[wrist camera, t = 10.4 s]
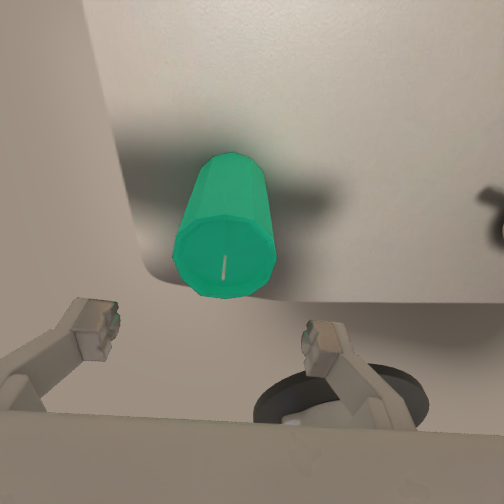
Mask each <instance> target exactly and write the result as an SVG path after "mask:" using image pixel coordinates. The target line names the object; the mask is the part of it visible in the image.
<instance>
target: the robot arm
mask: <svg viewBox="0 0 504 504" xmlns="http://www.w3.org/2000/svg"><path fill="white" fill-rule="evenodd" d="M117 310H118V303H117V302H113V301H106V300H97V299H87V298H79V297H77V298H76V299H75V300H74V301H73V302H72V304H71V305H70V307H69V308H68V310H67V311H66V313H65V314H64V316H63V317H62V319H61V320H60V322H59V323H58V325H57V326H56V328H55V329H54V330H49V331H47V332H45V333H43V334H42V335H40V336H38V337H37V338H35V339H33V340H32V341H30V342H28V343H26V344H25V345H23V346H21V347H20V348H18V349H16V350H15V351H13V352H11V353H10V354H8V355H6V356H5V357H3V358H1V359H0V504H504V436H500V435H482V434H461V433H442V432H423V431H417V429H416V426H415V424H414V422H413V420H412V417H411V415H410V413H409V411H408V408H407V406H406V404H405V402H404V399H403V398H402V397H401V396H400V395H399V394H398V393H397V392H396V391H395V390H394V389H393V388H392V387H391V386H390V385H389V384H388V383H387V382H386V381H385V380H384V379H383V378H382V377H380V376H379V375H378V374H377V373H376V372H375V371H374V370H373V369H372V368H371V367H370V366H369V365H368V364H367V363H366V362H365V361H364V360H363V359H362V358H361V357H360V356H359V355H355V352H354V350H353V347H352V344H351V342H350V339H349V336H348V333H347V330H346V328H345V325H344V324H343V323H338V322H329V321H317V320H310V321H308V323H307V330H306V331H304V332H303V335H302V340H301V349H302V353H303V354H304V355H305V357H306V359H305V361H304V365H305V370H306V375H307V376H310V377H320V378H325V379H326V381H327V382H328V384H329V385H330V386H331V388H332V389H333V390H334V392H335V393H336V394H337V396H338V397H339V399H340V400H337V401H330V402H326V403H322V404H318V405H315V406H313V407H311V408H308V409H306V410H304V411H302V412H298V413H293V414H289V415H286V416H283V417H282V420H281V424H267V423H248V422H228V421H209V420H208V421H207V420H189V419H169V418H148V417H130V416H111V415H90V414H70V413H51V412H47V411H46V408H45V407H44V405H43V403H42V401H41V399H40V398H41V397H43V396H44V395H45V394H46V393H47V392H48V391H50V390H51V389H52V388H53V387H54V386H55V385H57V384H58V383H59V382H60V381H61V380H62V379H63V378H65V377H66V376H67V375H68V374H69V373H70V372H72V371H73V370H74V369H75V368H76V367H77V366H79V365H80V364H81V363H82V362H83V361H103V362H105V361H106V359H107V357H108V355H109V352H110V350H111V348H112V346H111V341H112V340H113V339H115V338H116V336H117V334H118V331H119V327H120V315H119V314H118V313H117Z"/></svg>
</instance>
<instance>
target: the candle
mask: <svg viewBox="0 0 504 504" xmlns="http://www.w3.org/2000/svg"><path fill="white" fill-rule="evenodd" d="M172 258H173V260H174V262H175V265H176V267H177V270H178V272H179V275H180V277H181V279H182V280H183V281H184V282H185V283H187V284H188V285H189V286H190V287H191V288H192V289H193V290H194V291H196V292H197V293H198V294H199V295H200V296H206V297H214V298H221V299H228V298H236V297H243V296H250V295H251V294H252V293H254V292H255V291H256V290H258V289H259V288H261V287H262V286H263V285H265V284H266V283H268V282H269V279H270V276H271V273H272V271H273V268H274V265H275V263H276V260H277V255H276V249H275V242H274V235H273V228H272V222H271V215H270V208H269V201H268V195H267V188H266V183H265V178H264V173H263V171H262V170H261V169H260V167H259V166H258V165H257V164H256V163H255V162H254V161H253V160H252V159H251V158H250V157H247V156H243V155H240V154H237V153H234V152H230V153H225V154H221V155H217V156H213V157H212V158H211V159H210V160H209V161H208V162H207V163H206V164H205V165H204V166H203V167H202V168H201V170H200V172H199V175H198V178H197V180H196V183H195V186H194V189H193V191H192V194H191V197H190V200H189V202H188V205H187V208H186V211H185V213H184V216H183V219H182V221H181V224H180V227H179V230H178V232H177V235H176V239H175V245H174V250H173V255H172Z"/></svg>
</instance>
